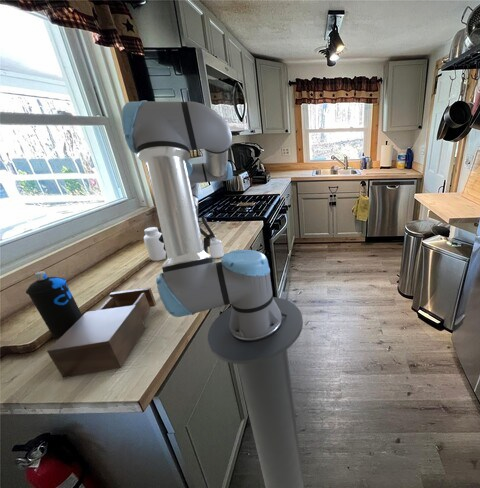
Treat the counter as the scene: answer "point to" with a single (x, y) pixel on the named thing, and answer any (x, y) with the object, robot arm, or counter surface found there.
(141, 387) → the counter surface
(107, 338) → the cabinet
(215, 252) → the eye dropper bottle
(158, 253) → the pill bottle
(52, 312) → the aerosol can
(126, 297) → the drawer
